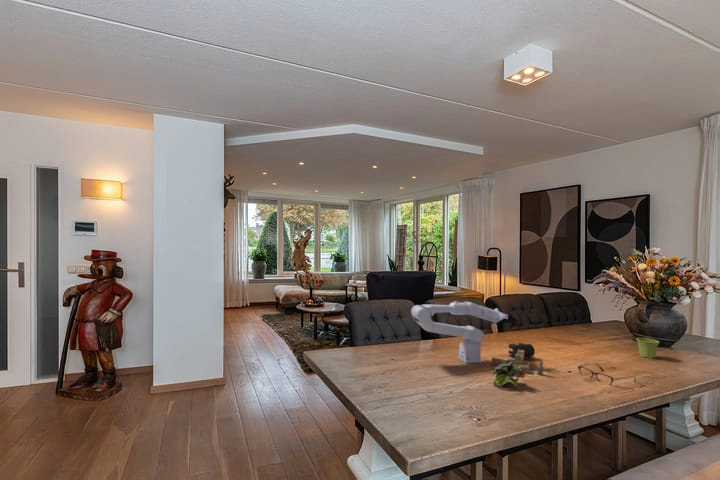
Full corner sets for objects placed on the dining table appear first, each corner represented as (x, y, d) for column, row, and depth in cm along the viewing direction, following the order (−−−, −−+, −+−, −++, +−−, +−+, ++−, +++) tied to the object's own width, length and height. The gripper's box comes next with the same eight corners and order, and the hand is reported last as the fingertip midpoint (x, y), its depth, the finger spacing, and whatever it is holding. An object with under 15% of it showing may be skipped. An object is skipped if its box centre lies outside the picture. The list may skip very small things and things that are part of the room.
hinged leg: (520, 369, 152) (521, 355, 152) (514, 367, 154) (514, 354, 154) (524, 361, 164) (524, 348, 164) (518, 360, 165) (518, 347, 165)
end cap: (518, 360, 166) (518, 346, 166) (507, 356, 172) (507, 342, 172) (534, 359, 168) (535, 345, 169) (523, 355, 175) (524, 341, 175)
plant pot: (664, 360, 173) (664, 342, 174) (645, 359, 174) (645, 342, 174) (649, 354, 183) (649, 338, 183) (631, 353, 183) (631, 337, 183)
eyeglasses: (575, 374, 150) (575, 364, 151) (600, 370, 156) (600, 361, 156) (614, 388, 135) (614, 378, 135) (640, 384, 141) (640, 374, 141)
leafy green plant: (503, 395, 138) (515, 368, 142) (523, 401, 128) (535, 372, 132) (482, 379, 137) (494, 353, 141) (500, 385, 126) (513, 356, 130)
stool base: (545, 382, 138) (545, 368, 138) (487, 370, 150) (487, 358, 150) (548, 367, 157) (548, 355, 157) (496, 357, 169) (496, 346, 169)
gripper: (497, 304, 160) (522, 312, 163) (479, 306, 174) (502, 314, 176) (495, 319, 158) (520, 327, 160) (477, 320, 172) (501, 327, 174)
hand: (511, 321), depth 168 cm, fingers open, 7 cm apart
